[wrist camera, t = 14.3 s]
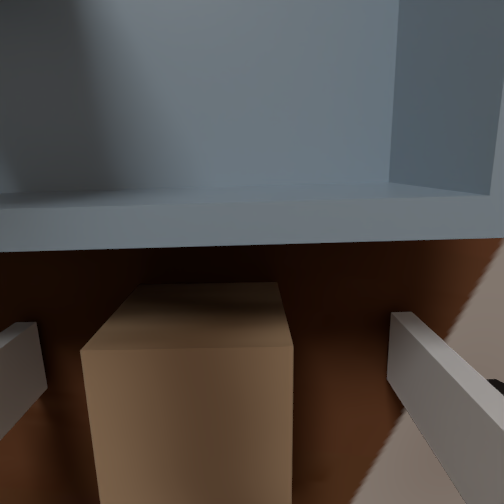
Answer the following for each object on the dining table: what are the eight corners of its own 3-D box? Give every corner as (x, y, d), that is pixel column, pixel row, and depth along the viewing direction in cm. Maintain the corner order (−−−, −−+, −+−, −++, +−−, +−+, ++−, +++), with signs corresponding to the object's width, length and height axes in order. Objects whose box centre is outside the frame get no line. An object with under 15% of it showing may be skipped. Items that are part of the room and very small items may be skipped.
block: (150, 403, 15) (102, 522, 10) (140, 283, 14) (80, 350, 9) (276, 401, 15) (291, 518, 10) (277, 281, 14) (293, 346, 9)
